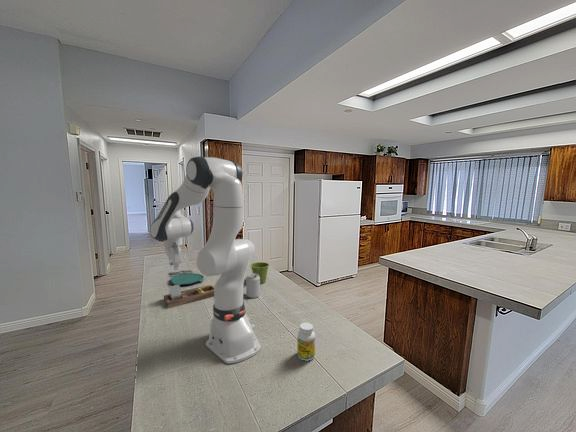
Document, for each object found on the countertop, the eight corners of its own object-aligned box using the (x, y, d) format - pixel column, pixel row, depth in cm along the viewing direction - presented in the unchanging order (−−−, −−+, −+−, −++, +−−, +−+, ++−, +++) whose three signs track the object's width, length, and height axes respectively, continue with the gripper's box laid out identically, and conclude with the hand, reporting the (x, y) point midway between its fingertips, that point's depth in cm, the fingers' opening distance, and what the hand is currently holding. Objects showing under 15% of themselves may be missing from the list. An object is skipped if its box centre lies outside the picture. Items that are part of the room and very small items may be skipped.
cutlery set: (172, 290, 142) (172, 286, 142) (165, 275, 167) (165, 272, 166) (207, 283, 153) (207, 279, 153) (195, 270, 178) (195, 267, 178)
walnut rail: (219, 295, 136) (219, 290, 136) (168, 308, 121) (168, 302, 120) (212, 288, 145) (212, 283, 145) (163, 299, 129) (163, 294, 129)
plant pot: (270, 279, 161) (270, 262, 159) (267, 286, 149) (267, 268, 148) (253, 278, 162) (252, 261, 161) (248, 285, 150) (248, 267, 149)
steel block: (181, 302, 127) (180, 287, 126) (171, 304, 125) (170, 289, 124) (179, 298, 131) (178, 284, 130) (169, 301, 128) (169, 286, 127)
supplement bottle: (316, 352, 90) (317, 323, 89) (312, 363, 84) (312, 332, 83) (300, 348, 92) (300, 319, 91) (294, 358, 86) (295, 328, 85)
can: (257, 299, 131) (257, 277, 130) (244, 297, 133) (244, 276, 132) (261, 293, 139) (261, 273, 137) (249, 292, 140) (249, 272, 139)
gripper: (184, 244, 118) (185, 272, 119) (175, 236, 134) (175, 261, 135) (170, 246, 114) (171, 274, 115) (162, 238, 130) (163, 263, 132)
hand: (173, 267), depth 126 cm, fingers open, 8 cm apart
